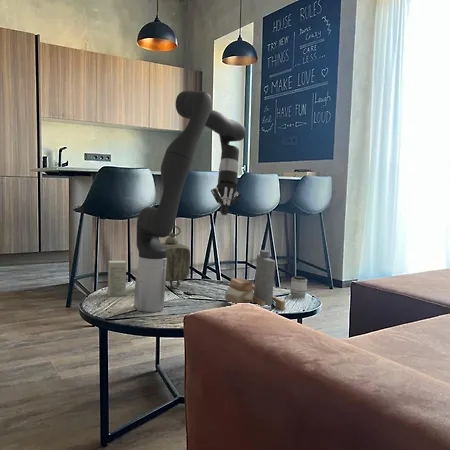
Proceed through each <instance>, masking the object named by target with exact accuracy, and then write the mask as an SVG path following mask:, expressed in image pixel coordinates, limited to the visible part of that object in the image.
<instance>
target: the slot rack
mask: <svg viewBox="0 0 450 450" xmlns="http://www.w3.org/2000/svg"><path fill="white" fill-rule="evenodd" d="M230 285H231V283H230V284H229V286H230ZM254 286H255V284H252V289H253V290H254ZM272 299H273V300H274V301H275V302H276V307H275V308H277V309H278V310H280V311H282V310H283V311H285V309H286V308H285V307H286V301H285V300H283V299H281V298H280V297H277V296H276V295H274V294H273V297H272ZM253 300H254V302H256V303H257V304H258V305H260V306H264V305H265V302H264V301H262V300H261V299H259V298H257V297H255V296H254V294H253Z"/></svg>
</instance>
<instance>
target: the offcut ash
mask: <svg viewBox="0 0 450 450" xmlns="http://www.w3.org/2000/svg"><path fill="white" fill-rule="evenodd" d="M226 294H227V295H229V296H230V297H232V298H234V299H236V300H238V301H239V300H253V295H254V294H253V291H242V292H239V291H237V290H236V289H234V288H232V287H230V286H227V293H226Z"/></svg>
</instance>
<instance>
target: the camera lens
mask: <svg viewBox="0 0 450 450" xmlns="http://www.w3.org/2000/svg"><path fill="white" fill-rule="evenodd" d="M307 286H308V279H307V278H306V277H304V276H300V275H295V276H292V277H291V281H290V296H291V297H293V298H297V299H303V298H305V297H306V295H307Z"/></svg>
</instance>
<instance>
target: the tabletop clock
mask: <svg viewBox="0 0 450 450" xmlns="http://www.w3.org/2000/svg"><path fill="white" fill-rule="evenodd" d="M173 228H176V229H177V230H178V231H179V232H178V233H176V234H175V233H174V232H172V231H171V233H170V234H169V235H168V236H167V238H166V239H165V240H164V241H163V242H161V241H160V242H161V244H162V245H163V246H164V247H165V248H166V249H167V264H166V279H165V282H169V283H170V286H169V290H174V285H173V282H175V283H176V286H180V285H181V282H180V281H183V280H185V279H187V278H188V276H189V273H190V267H191V251H190V247H189V246H187V245H184V244H182V243H179V240H178V239H177V236H179V235H180V233H181V228H180V227H179V226H177V225H174V227H173Z"/></svg>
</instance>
